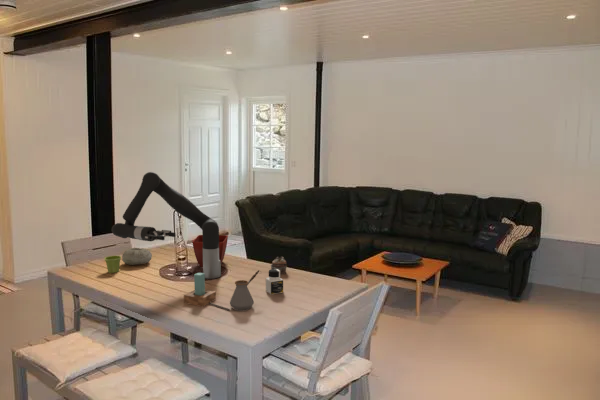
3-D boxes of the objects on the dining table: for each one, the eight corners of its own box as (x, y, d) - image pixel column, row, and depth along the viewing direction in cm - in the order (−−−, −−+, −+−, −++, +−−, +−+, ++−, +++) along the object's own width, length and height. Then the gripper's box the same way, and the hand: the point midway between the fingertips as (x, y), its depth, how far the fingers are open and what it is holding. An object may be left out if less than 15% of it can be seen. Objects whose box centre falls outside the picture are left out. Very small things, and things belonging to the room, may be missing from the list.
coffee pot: (244, 314, 227) (244, 283, 225) (224, 309, 233) (224, 279, 231) (269, 300, 246) (269, 271, 244) (250, 296, 251) (250, 268, 249)
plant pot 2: (223, 268, 300) (223, 241, 298) (192, 268, 301) (191, 241, 298) (228, 260, 319) (228, 235, 317) (199, 260, 320) (198, 234, 317)
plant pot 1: (116, 274, 288) (115, 260, 286) (101, 273, 290) (101, 259, 288) (125, 270, 297) (124, 256, 295) (110, 269, 299) (110, 255, 297)
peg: (199, 299, 247) (198, 272, 245) (205, 300, 245) (204, 273, 243) (194, 301, 243) (194, 274, 241) (200, 302, 242) (200, 275, 240)
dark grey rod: (208, 304, 240) (208, 302, 240) (210, 303, 241) (209, 302, 240) (229, 311, 231) (228, 309, 231) (230, 310, 232) (230, 308, 232)
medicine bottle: (271, 294, 254) (270, 272, 252) (265, 290, 260) (265, 268, 258) (283, 292, 257) (283, 270, 255) (277, 288, 263) (277, 267, 262)
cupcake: (284, 270, 298) (284, 254, 296) (288, 274, 289) (288, 258, 287) (268, 271, 295) (268, 255, 293) (273, 276, 286) (273, 259, 284)
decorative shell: (144, 258, 323) (144, 243, 321) (157, 264, 310) (156, 248, 308) (117, 263, 311) (117, 248, 309) (129, 269, 298) (129, 253, 296)
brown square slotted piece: (197, 296, 251) (197, 288, 251) (215, 299, 247) (215, 291, 246) (184, 302, 242) (184, 295, 241) (202, 306, 237) (202, 298, 236)
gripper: (135, 229, 252) (160, 231, 245) (154, 224, 265) (178, 226, 258) (135, 243, 253) (160, 246, 246) (154, 237, 266) (178, 240, 259)
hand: (169, 236), depth 252 cm, fingers open, 8 cm apart
